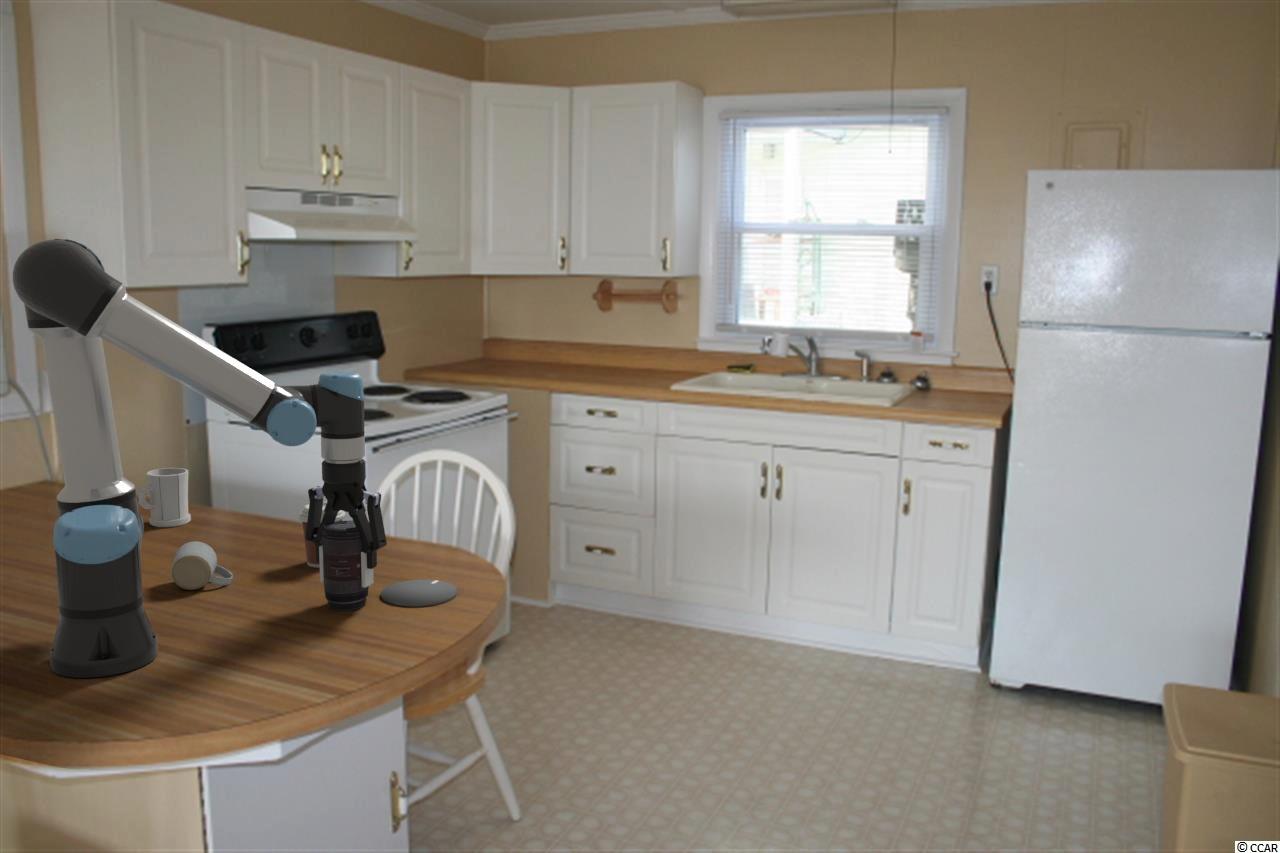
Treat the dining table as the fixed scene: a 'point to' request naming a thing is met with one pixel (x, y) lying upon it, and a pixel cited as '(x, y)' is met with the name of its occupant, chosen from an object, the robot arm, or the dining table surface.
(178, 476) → the cup
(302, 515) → the coffee cup
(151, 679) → the dining table surface
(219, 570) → the ceramic mug
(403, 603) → the pad
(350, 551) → the camera lens
